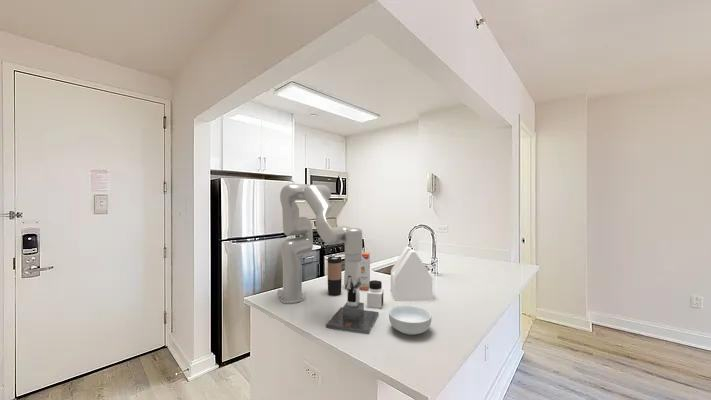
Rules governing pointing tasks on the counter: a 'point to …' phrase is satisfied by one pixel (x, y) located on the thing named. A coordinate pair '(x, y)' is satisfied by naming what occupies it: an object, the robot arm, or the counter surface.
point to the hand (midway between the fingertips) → (353, 299)
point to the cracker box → (364, 271)
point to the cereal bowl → (410, 319)
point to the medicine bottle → (375, 294)
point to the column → (357, 291)
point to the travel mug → (334, 276)
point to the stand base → (353, 319)
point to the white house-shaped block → (410, 278)
